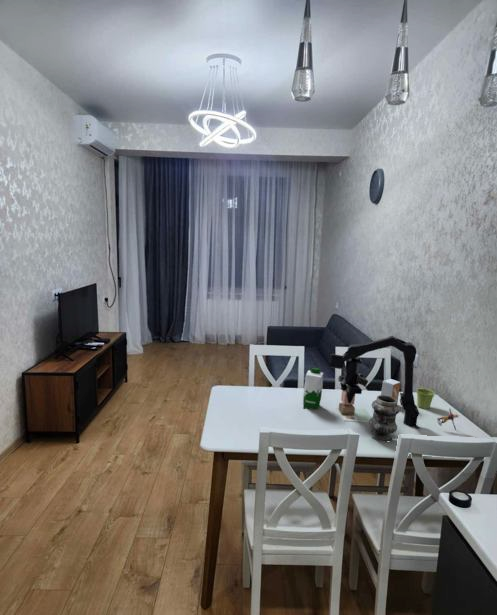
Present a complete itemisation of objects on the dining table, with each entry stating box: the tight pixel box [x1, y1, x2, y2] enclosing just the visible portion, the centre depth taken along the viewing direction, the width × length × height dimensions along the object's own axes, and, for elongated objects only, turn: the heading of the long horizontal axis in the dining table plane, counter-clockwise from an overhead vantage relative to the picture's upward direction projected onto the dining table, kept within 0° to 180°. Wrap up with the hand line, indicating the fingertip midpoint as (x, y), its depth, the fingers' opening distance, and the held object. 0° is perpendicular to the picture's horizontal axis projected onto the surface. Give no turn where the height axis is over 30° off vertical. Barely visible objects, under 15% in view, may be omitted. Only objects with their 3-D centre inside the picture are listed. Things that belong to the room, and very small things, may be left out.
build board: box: [334, 407, 373, 423], centre depth 206 cm, size 16×16×1 cm
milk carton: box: [302, 367, 324, 410], centre depth 211 cm, size 9×9×20 cm
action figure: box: [436, 408, 459, 431], centre depth 198 cm, size 12×3×9 cm
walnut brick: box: [338, 402, 356, 416], centre depth 207 cm, size 6×6×4 cm
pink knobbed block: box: [340, 389, 356, 405], centre depth 206 cm, size 5×5×6 cm
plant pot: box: [416, 387, 436, 410], centre depth 224 cm, size 9×9×9 cm
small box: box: [380, 378, 401, 404], centre depth 223 cm, size 8×6×13 cm
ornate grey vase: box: [368, 394, 401, 443], centre depth 184 cm, size 12×12×18 cm
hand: (347, 400), depth 206 cm, fingers closed on pink knobbed block, 5 cm apart
